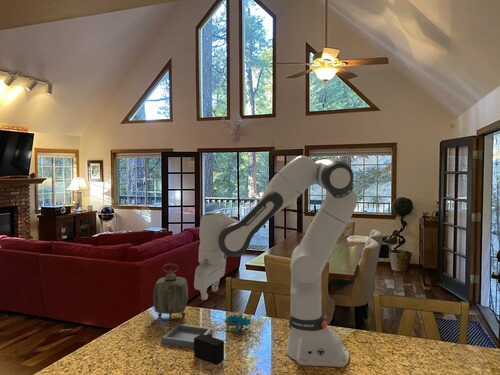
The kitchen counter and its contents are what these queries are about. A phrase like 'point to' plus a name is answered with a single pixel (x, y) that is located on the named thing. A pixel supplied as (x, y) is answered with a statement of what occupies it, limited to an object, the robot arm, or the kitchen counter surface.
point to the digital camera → (209, 349)
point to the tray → (184, 335)
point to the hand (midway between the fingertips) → (209, 294)
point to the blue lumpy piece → (236, 322)
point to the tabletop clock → (170, 294)
